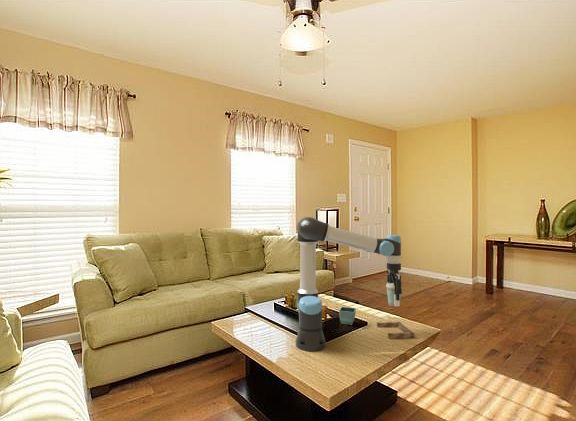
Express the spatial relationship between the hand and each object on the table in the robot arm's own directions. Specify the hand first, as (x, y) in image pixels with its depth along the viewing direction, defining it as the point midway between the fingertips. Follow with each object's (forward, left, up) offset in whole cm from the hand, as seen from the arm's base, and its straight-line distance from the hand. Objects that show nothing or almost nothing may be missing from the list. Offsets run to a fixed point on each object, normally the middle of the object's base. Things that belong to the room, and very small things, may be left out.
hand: (393, 303), depth 178 cm
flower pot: (-23, +14, -16) cm, 31 cm away
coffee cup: (0, 0, -1) cm, 1 cm away
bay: (-1, 0, -16) cm, 16 cm away
